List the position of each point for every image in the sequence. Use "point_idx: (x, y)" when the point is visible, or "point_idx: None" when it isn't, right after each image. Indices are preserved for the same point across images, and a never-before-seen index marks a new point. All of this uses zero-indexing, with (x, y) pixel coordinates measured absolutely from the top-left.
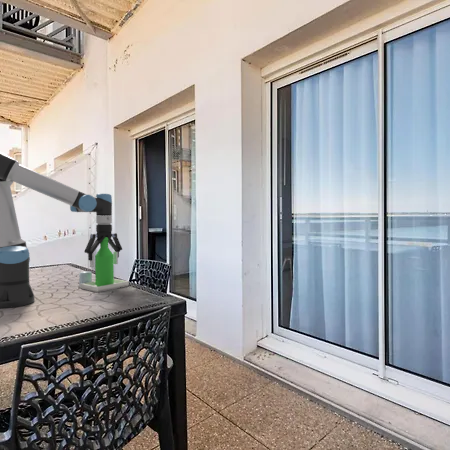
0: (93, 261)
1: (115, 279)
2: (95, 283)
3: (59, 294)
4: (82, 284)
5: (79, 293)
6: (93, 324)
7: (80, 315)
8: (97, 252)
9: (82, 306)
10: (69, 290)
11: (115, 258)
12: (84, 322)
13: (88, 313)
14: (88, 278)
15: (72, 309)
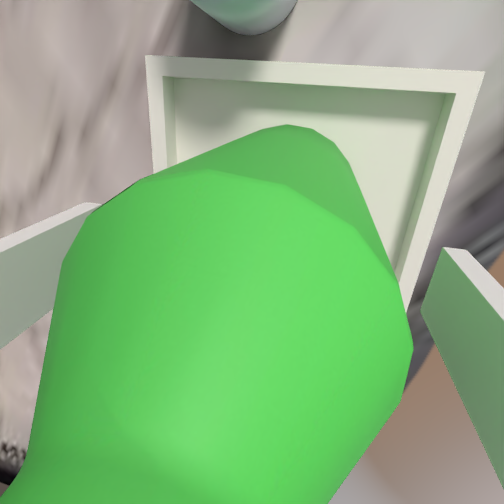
0: (55, 296)
1: (433, 172)
2: (279, 83)
3: (12, 114)
4: (148, 93)
5: (99, 198)
6: (16, 474)
7: (10, 422)
8: (50, 331)
9: (37, 374)
10: (86, 51)
11: (457, 346)
12: (5, 456)
13: (30, 428)
14: (228, 18)
15: (5, 371)
